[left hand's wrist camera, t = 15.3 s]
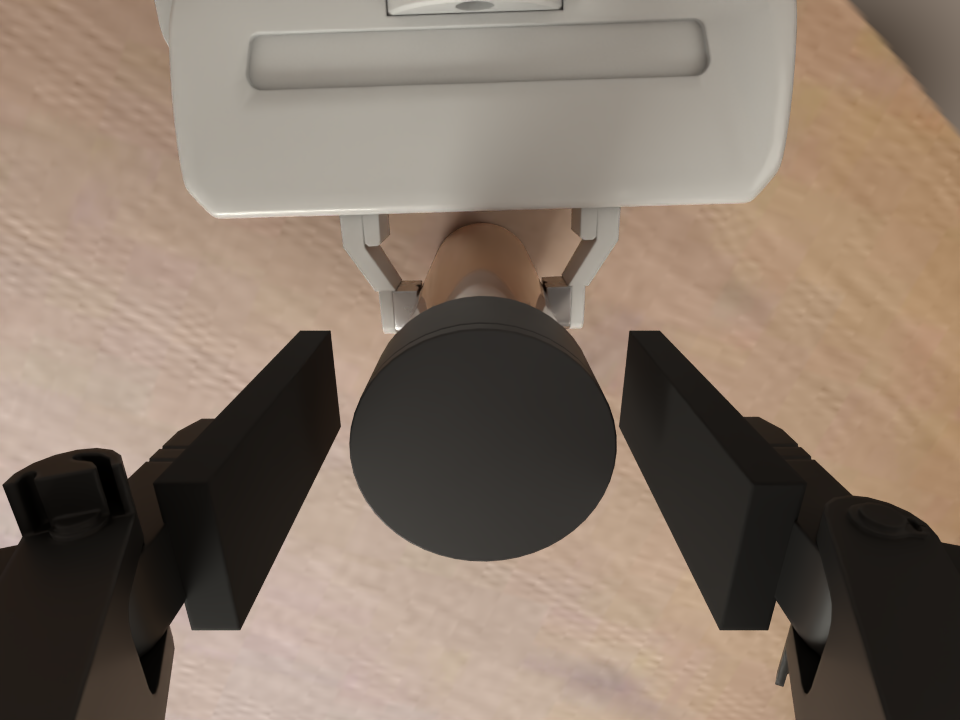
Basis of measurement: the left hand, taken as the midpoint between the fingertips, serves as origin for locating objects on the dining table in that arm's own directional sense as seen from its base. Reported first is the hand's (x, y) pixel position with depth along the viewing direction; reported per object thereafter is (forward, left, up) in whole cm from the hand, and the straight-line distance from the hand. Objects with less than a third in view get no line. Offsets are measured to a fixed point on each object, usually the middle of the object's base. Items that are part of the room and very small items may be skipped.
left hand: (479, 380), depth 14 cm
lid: (0, 0, +3) cm, 3 cm away
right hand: (-1, +1, -8) cm, 8 cm away
